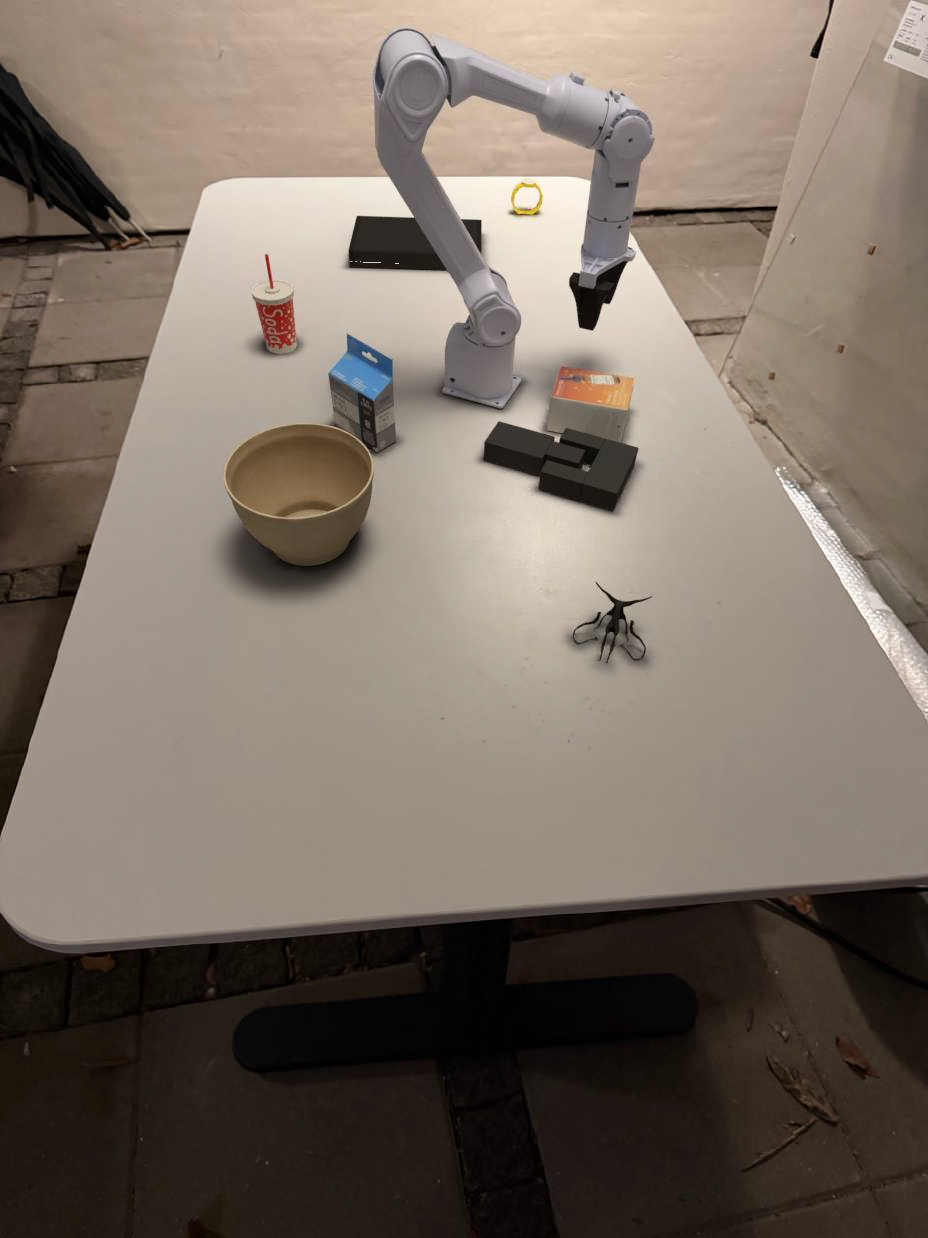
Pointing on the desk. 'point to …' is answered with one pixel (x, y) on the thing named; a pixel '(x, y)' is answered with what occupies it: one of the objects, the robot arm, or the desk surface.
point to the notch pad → (591, 471)
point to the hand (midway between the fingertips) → (595, 314)
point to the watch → (529, 184)
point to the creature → (614, 623)
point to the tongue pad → (528, 449)
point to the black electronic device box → (399, 243)
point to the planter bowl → (301, 489)
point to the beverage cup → (276, 313)
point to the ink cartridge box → (364, 395)
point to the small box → (590, 403)
